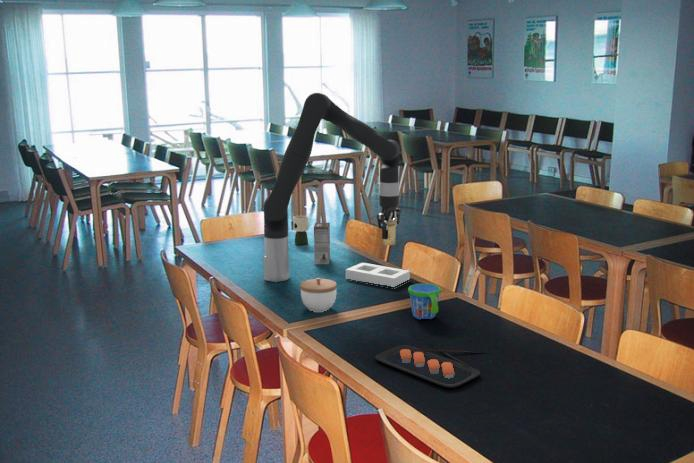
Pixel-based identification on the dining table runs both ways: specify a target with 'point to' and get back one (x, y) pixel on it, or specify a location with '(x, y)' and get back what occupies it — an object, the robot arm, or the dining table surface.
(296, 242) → the character mug
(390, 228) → the gold piece
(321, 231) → the coffee box
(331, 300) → the lidded bowl
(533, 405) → the dining table surface
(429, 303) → the snack cup
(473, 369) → the sushi plate
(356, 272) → the frame
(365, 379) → the dining table surface
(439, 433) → the dining table surface
